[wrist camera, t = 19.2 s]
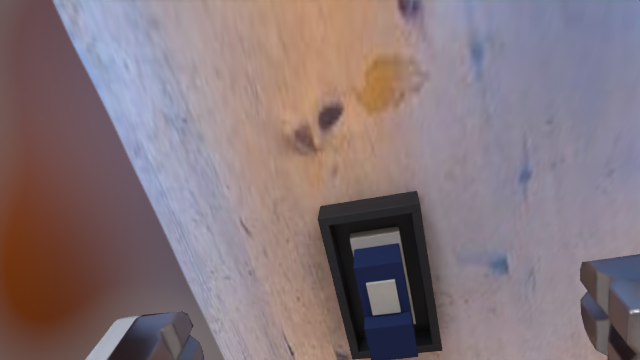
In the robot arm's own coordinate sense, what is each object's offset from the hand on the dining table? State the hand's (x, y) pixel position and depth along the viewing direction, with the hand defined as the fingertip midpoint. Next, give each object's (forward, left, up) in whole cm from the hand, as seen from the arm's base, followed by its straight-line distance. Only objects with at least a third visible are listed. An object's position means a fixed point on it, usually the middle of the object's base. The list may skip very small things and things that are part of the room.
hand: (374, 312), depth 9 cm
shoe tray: (+2, +18, -29) cm, 34 cm away
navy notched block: (+2, +18, -29) cm, 34 cm away
